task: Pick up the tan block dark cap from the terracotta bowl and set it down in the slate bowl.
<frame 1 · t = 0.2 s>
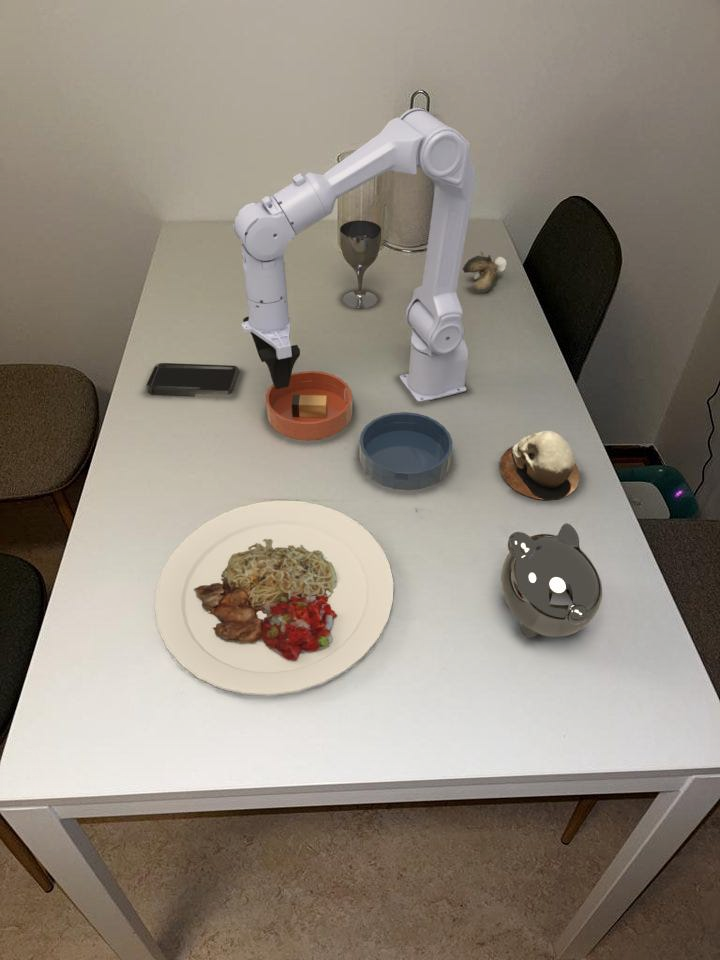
hand: (274, 372, 106), 10 cm above the table, tool pointing down, fingers open, 7 cm apart
tan block dark cap: (309, 412, 114), point 1 cm above the table, touching terracotta bowl
skull: (538, 473, 105), on the table
piggy bank: (539, 613, 87), on the table
wine glass: (359, 300, 142), on the table
slate bowl: (404, 460, 107), on the table
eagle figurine: (481, 283, 148), on the table
phone: (194, 383, 121), on the table
terracotta bowl: (310, 415, 115), on the table
plated food: (276, 595, 89), on the table
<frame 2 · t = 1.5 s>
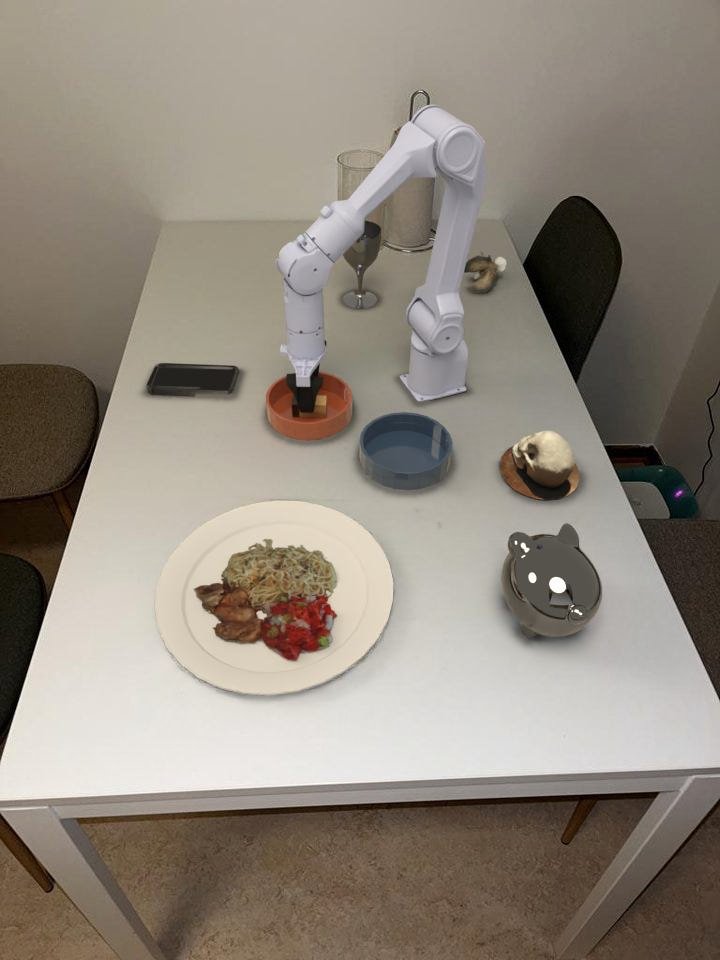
hand: (308, 396, 112), 4 cm above the table, tool pointing down, fingers open, 7 cm apart
nothing on the table moved.
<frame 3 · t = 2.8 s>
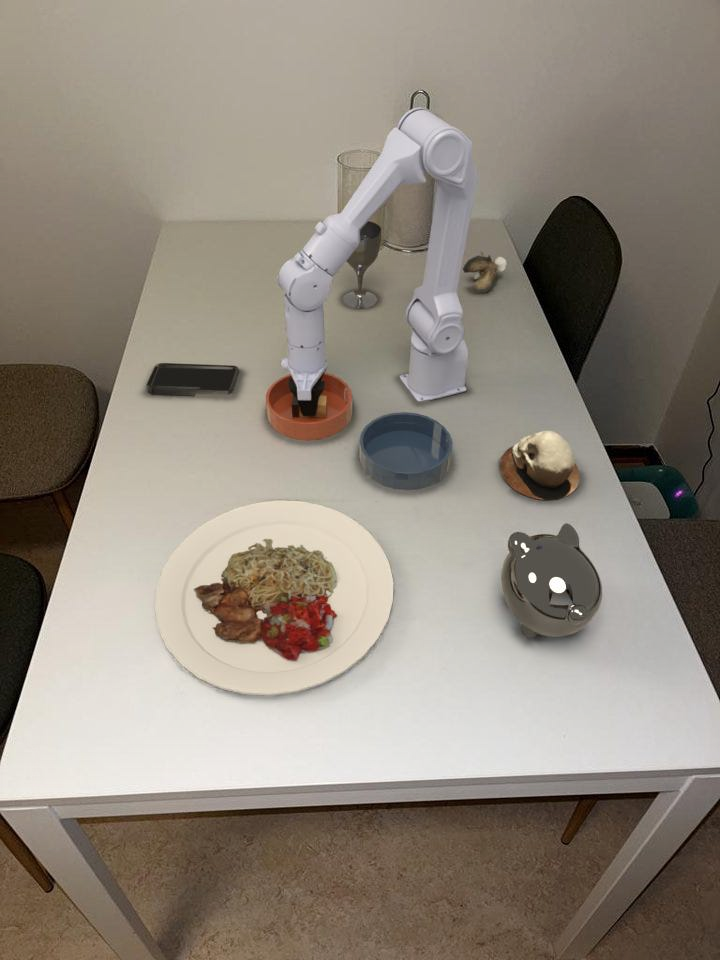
hand: (309, 408, 114), 1 cm above the table, tool pointing down, fingers closed on tan block dark cap, 2 cm apart
tan block dark cap: (309, 412, 114), point 1 cm above the table, touching gripper, terracotta bowl
everything else where it was.
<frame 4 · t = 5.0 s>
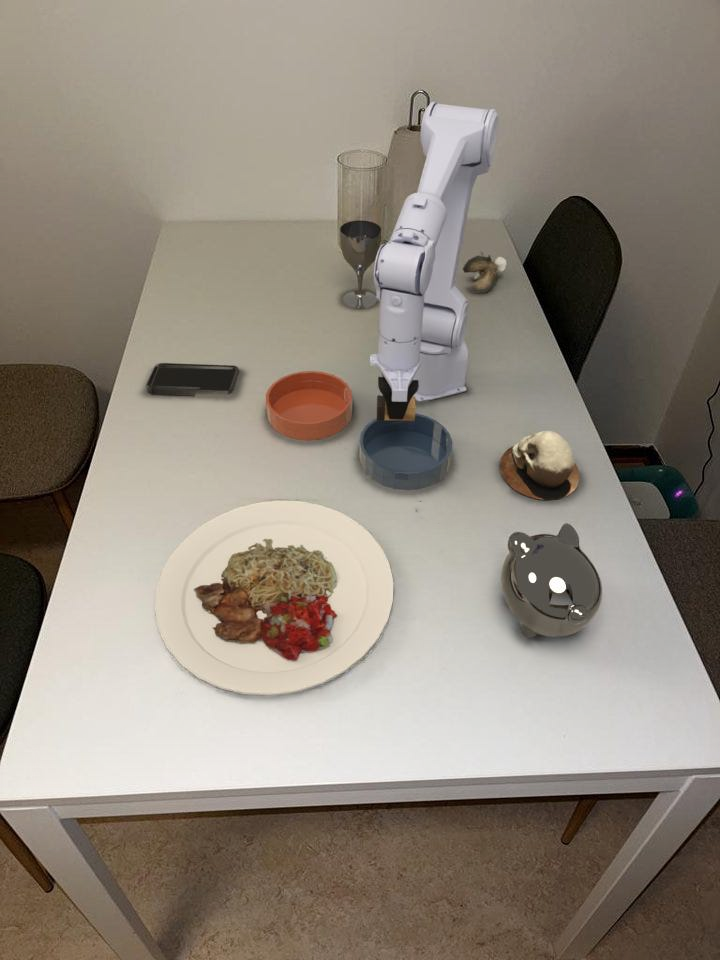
hand: (395, 410, 102), 9 cm above the table, tool pointing down, fingers closed on tan block dark cap, 2 cm apart
tan block dark cap: (395, 415, 102), point 8 cm above the table, touching gripper
everything else where it was.
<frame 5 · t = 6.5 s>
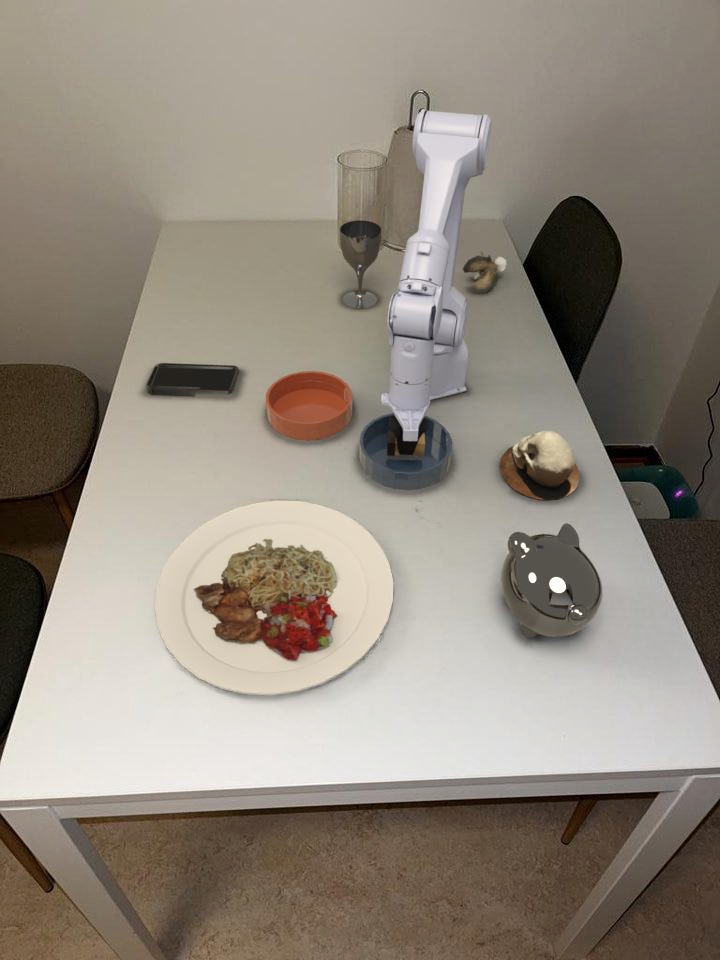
hand: (405, 446, 105), 3 cm above the table, tool pointing down, fingers closed on tan block dark cap, 2 cm apart
tan block dark cap: (405, 450, 105), point 2 cm above the table, touching gripper
everything else where it was.
when the fingers open (1 cm above the table, at t = 7.3 s): tan block dark cap stays where it is, resting on slate bowl.
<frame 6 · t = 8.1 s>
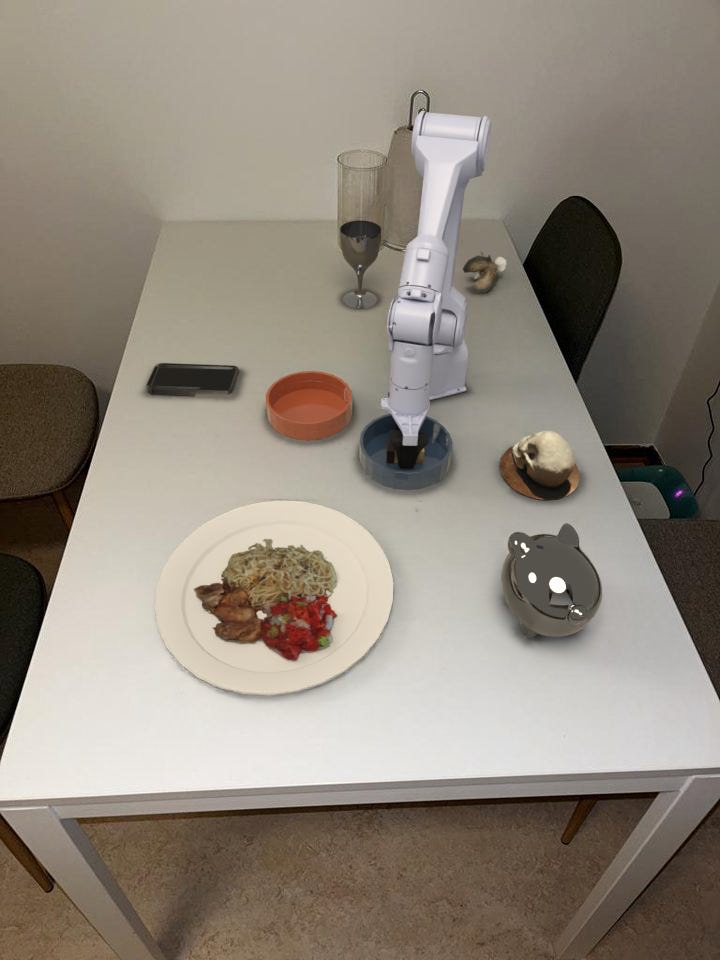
hand: (405, 450, 105), 2 cm above the table, tool pointing down, fingers open, 7 cm apart
tan block dark cap: (404, 457, 107), point 1 cm above the table, touching slate bowl
everything else where it was.
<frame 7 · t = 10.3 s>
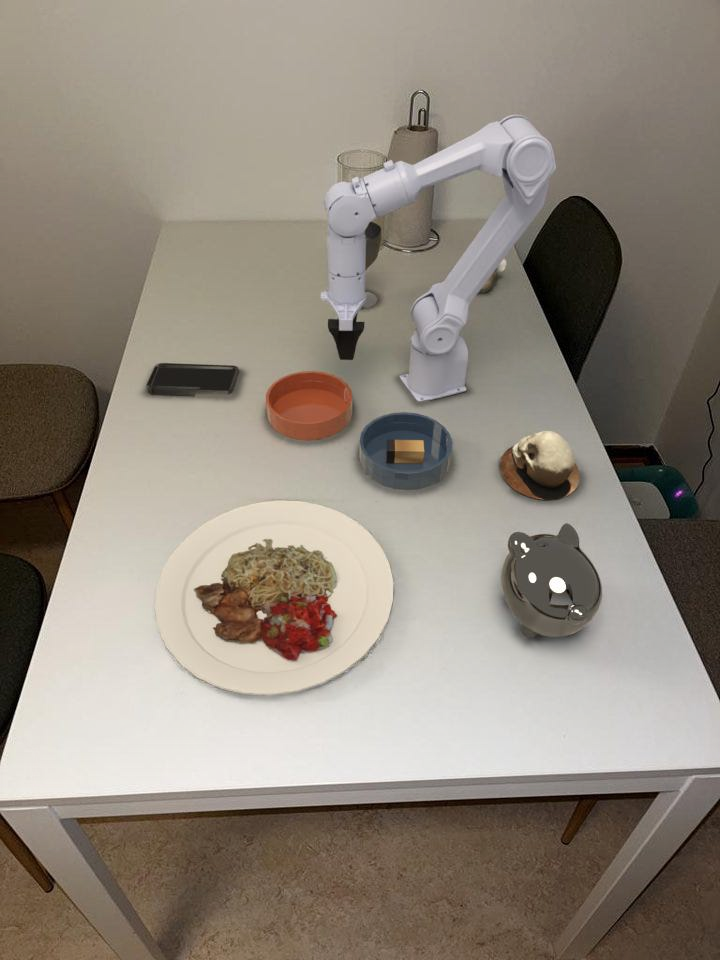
hand: (346, 345, 113), 9 cm above the table, tool pointing down, fingers open, 7 cm apart
nothing on the table moved.
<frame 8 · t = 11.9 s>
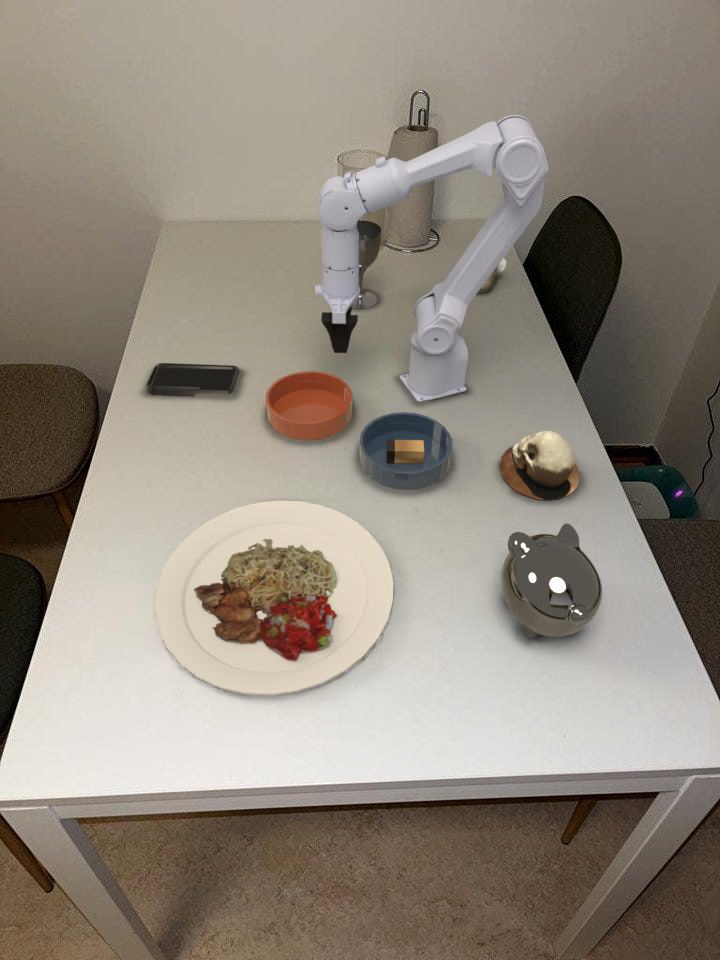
hand: (341, 338, 114), 9 cm above the table, tool pointing down, fingers open, 7 cm apart
nothing on the table moved.
at the end: tan block dark cap inside the target area in the slate bowl (0.1 cm from its centre), point 0.6 cm above the slate bowl's base; the gripper is holding nothing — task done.
